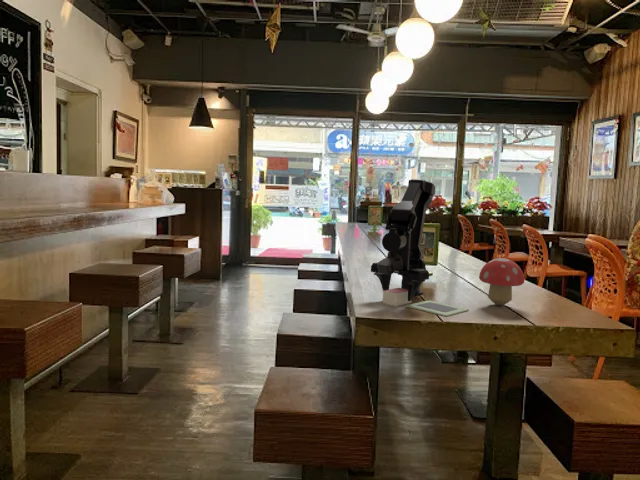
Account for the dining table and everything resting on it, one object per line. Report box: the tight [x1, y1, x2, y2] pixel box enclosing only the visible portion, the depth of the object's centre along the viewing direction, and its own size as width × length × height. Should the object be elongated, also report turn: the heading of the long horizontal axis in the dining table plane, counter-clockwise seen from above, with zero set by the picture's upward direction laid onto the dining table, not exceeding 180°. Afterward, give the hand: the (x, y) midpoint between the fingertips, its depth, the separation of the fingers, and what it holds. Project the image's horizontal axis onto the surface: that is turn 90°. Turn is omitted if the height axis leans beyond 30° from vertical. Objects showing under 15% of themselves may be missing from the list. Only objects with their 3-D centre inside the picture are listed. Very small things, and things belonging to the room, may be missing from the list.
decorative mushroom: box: [478, 257, 525, 306], centre depth 157 cm, size 13×13×15 cm
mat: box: [405, 300, 470, 317], centre depth 149 cm, size 12×14×1 cm
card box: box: [382, 287, 413, 307], centre depth 155 cm, size 8×5×4 cm, turn 135°
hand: (397, 298), depth 155 cm, fingers open, 9 cm apart
